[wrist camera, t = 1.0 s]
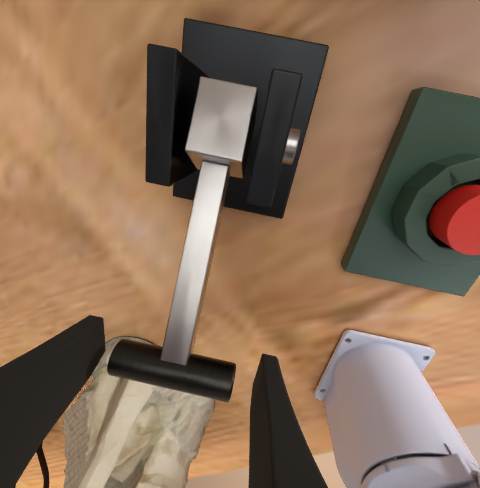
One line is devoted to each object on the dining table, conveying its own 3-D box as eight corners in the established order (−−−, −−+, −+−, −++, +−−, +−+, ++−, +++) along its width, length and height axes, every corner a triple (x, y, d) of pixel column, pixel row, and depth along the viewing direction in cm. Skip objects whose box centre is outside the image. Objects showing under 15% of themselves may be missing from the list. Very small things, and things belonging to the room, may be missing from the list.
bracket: (281, 214, 19) (290, 277, 11) (178, 192, 19) (110, 238, 11) (325, 51, 14) (393, -45, 6) (189, 25, 15) (93, -99, 7)
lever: (230, 383, 12) (227, 419, 9) (126, 359, 12) (95, 389, 9) (285, 125, 11) (296, 94, 9) (179, 104, 12) (162, 67, 9)
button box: (453, 287, 20) (483, 313, 17) (340, 263, 20) (351, 285, 17) (567, 119, 14) (635, 117, 12) (412, 89, 15) (444, 80, 12)
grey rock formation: (138, 322, 25) (-21, 565, 12) (241, 409, 30) (210, 648, 17) (60, 369, 31) (-101, 562, 18) (156, 435, 36) (85, 623, 23)
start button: (475, 248, 16) (498, 261, 14) (417, 235, 16) (434, 248, 14) (512, 191, 14) (543, 199, 12) (448, 178, 14) (470, 184, 12)
